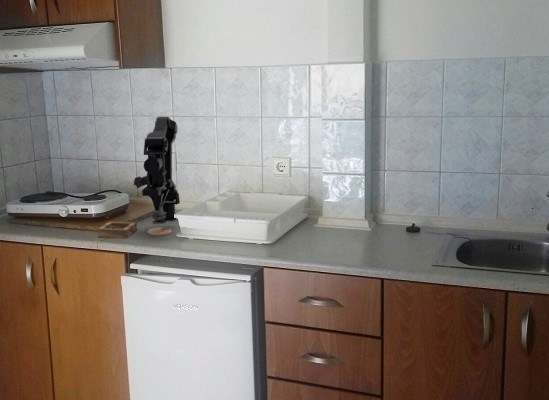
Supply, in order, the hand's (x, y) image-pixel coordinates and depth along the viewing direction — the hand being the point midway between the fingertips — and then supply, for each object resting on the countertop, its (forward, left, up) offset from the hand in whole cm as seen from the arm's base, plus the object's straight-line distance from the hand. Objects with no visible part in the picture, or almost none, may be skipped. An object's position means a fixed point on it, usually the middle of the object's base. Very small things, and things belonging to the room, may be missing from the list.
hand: (158, 209), depth 232 cm
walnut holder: (+4, -15, -9) cm, 18 cm away
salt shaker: (0, 0, -5) cm, 5 cm away
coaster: (0, 0, -9) cm, 9 cm away
